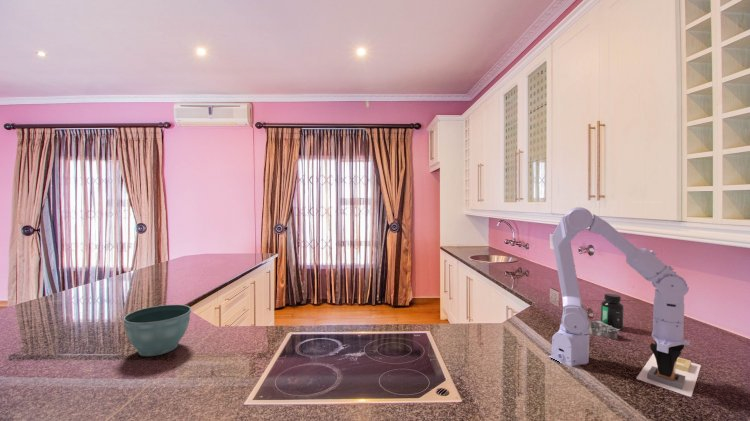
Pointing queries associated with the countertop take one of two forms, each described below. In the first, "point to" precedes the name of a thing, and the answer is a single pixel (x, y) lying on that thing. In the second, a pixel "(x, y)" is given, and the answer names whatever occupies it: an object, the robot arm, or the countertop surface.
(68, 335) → the countertop surface
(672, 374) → the peg
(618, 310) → the supplement bottle
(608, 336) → the egg carton
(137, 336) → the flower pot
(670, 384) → the socket board
